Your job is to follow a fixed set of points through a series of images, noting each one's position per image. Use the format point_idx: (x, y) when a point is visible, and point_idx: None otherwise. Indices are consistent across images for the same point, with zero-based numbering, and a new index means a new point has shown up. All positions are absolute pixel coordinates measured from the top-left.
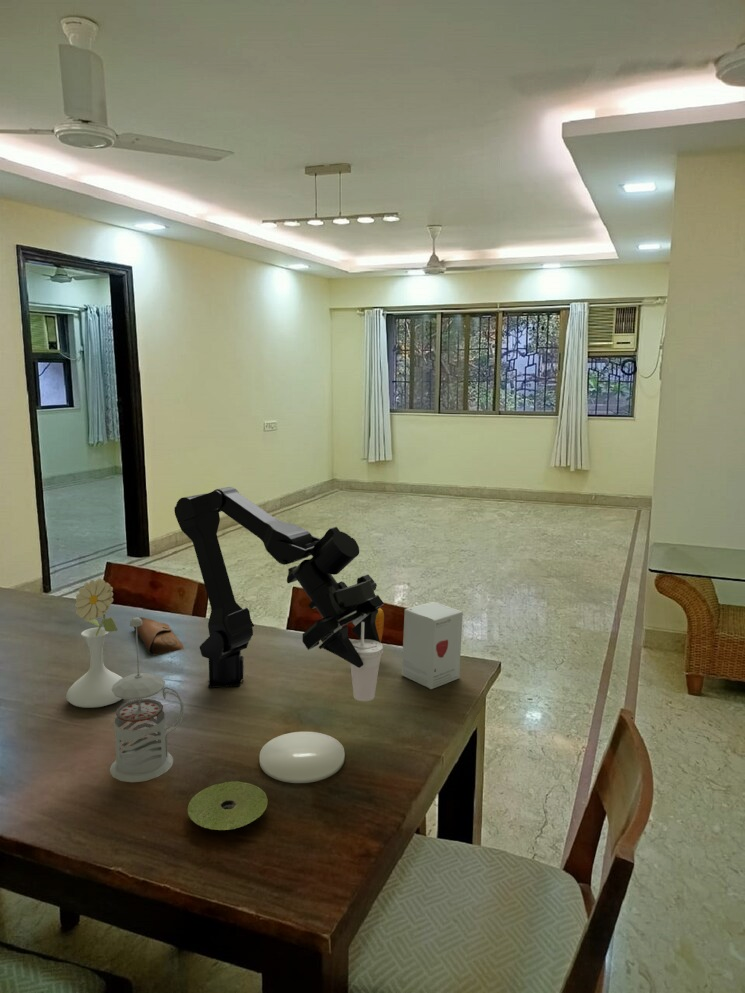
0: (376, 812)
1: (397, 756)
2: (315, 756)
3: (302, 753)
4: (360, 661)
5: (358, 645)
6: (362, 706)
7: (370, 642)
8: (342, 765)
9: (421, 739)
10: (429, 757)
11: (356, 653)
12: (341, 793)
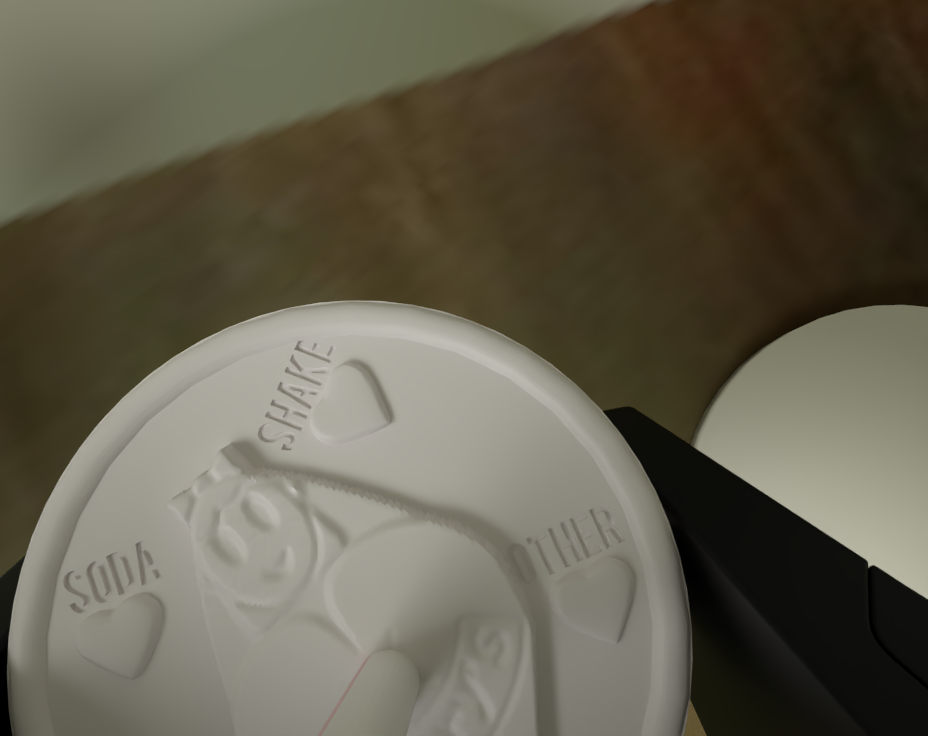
0: (893, 8)
1: (524, 208)
2: (885, 450)
3: (920, 525)
4: (658, 425)
5: (465, 717)
6: None
7: (137, 691)
8: (780, 336)
9: (319, 225)
10: (423, 103)
11: (709, 507)
12: (924, 187)
